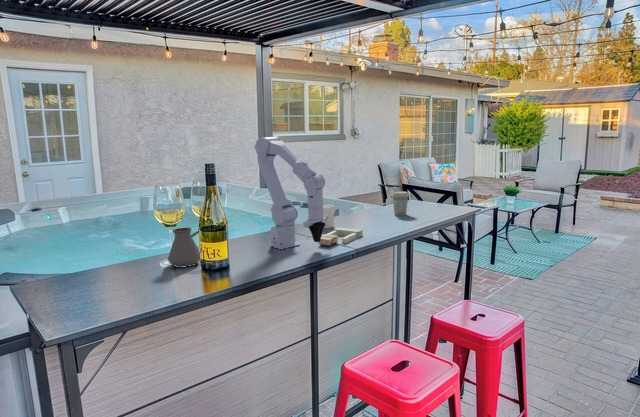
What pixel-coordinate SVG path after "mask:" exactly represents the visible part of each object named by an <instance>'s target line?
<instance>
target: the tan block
mask: <svg viewBox="0 0 640 417" xmlns="http://www.w3.org/2000/svg"><path fill="white" fill-rule="evenodd" d="M324 235H325V236H323V235H322V236H323V237H322V236H321V240H320V242H318V245H320V246H327V247H329V248H330V247H332V245H334V244H337V243H338V242H339V235H337V236H335V235H326V234H324Z"/></svg>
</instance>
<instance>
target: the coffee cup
mask: <svg viewBox="0 0 640 417" xmlns="http://www.w3.org/2000/svg"><path fill="white" fill-rule="evenodd" d="M391 195H392V202H393V204H392V205H393V210H394V211H393V212H394V213H393V214H394V216H396V215H397V216H398V217H404V215H405V216H406V215H407V208H408V198H409V192H408V191H401V190H397V191H392V194H391Z"/></svg>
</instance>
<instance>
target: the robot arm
mask: <svg viewBox="0 0 640 417" xmlns="http://www.w3.org/2000/svg"><path fill="white" fill-rule="evenodd" d="M254 149H255V151H256V156H257V164H258V166H259V169H260V172H261V176H263V179H264V182H265V186H266V187H267V190H268V192H269V195H270V197H271V201H272V206H271V208H270V211H271V218H272V222H273V223H274V224H275V225H274V226H272V227H270V230H269V231H270V232H269V233H270V234H269V236H270V244H269V246H270V247H272V246H273V247H272V248H275V249H277V248H278V249H277V250H280V249H281V250H284V248H285V249H290V248H292V247H293V246H294V247H297V246H300V244H301V243H298V242H296V231H295V230H296V228H295V223H296V220H297V218H298V215H299V214H298V209H296V207H295V206H294V204H293V203H292V201H291V200H289V199H288V198H287V197H286V194H285V192H284V189H283V186H282V184H281V181H280V178H279V176H278V173H277V171H276V168H275V165H274V160H275V158H276V157H277V156H279V157H280V158H281V159H282V160H283V161H285V162H286V163H287V164H288V165H289V166H290V167H291V168H292V173H293V174H294V175H295V176H296V177H298V179H299V180H300V181H301V182H302V183H303V187H304V189H305V190H306V195H307V209H308V216H307V219H306V220H305V221H303V223H302V224H303V228H308V230H309V231H310V233H311V236H312V240H313V242H314V243H319V242H320V240H321V237H322V236H323V232H324V229H325V228H324V226H325V223H323V222H322V221H326V220H328V215H323V205H324V195H323V189H324V187H325V185H326V180H325V178H324V177H323V175H322V174H320V173H316V172H317V171H315V170H312V168H311V167H310V166H309V164H308V163H307V161H303V160H302V161H301V160H300V161H299V159H297V157H296V156H295V155H294V154H293V153H292V151H290V149H289V148H288V147H287V146H286V144H285V141H284V140H282V139H281V138H280V137H279V136H267V137H263V136H260V137H259V138H257V140H256V143H255V144H254ZM289 247H290V248H289Z"/></svg>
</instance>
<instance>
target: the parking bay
mask: <svg viewBox="0 0 640 417" xmlns="http://www.w3.org/2000/svg"><path fill="white" fill-rule="evenodd" d="M325 235H335V236H341V237H342V239H341V243H342V244H345V243H346V244H347V243H350V242H351V241H353V240H355V239H357V238H358V239H359V238H361V237H362V236H363V229H359V228H357V229H356V228H348V227H335V228H334V229H333V230H332V231H330V232H328V233H326V234H324V235H323V234H322V235H321V237H323V236H325Z"/></svg>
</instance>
